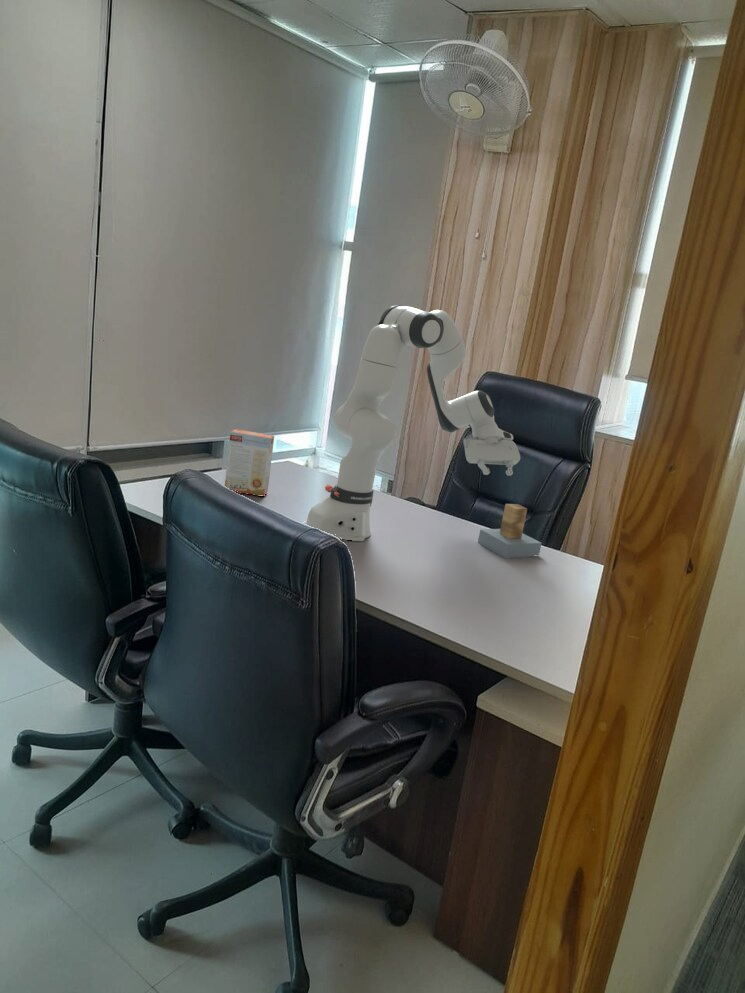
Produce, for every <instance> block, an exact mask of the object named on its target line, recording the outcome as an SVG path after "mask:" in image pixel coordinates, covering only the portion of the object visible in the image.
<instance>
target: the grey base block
mask: <svg viewBox="0 0 745 993" xmlns="http://www.w3.org/2000/svg"><path fill="white" fill-rule="evenodd" d="M477 543H478V544H479V545H481V546H483V547H484V548H487V549H488V550H490V551H491V552H493V553H494V554H495V553H496V554H497V555H498V556H501V557H502V558H504V559H511V557H512V559H514V558H513V557H518V558H525V557H524V556H534V555H539V556H540V552H541V547H542V542H541V541H538V540H537V539H535V538H533V537H531V536H530V535H527V534H526V533H524V532H522V537H521V539H508V538H506V537H505V536H503V535H501V534H500V528H482V529H481V528H480V530H479V534H478V539H477Z"/></svg>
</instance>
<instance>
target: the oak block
mask: <svg viewBox="0 0 745 993" xmlns="http://www.w3.org/2000/svg"><path fill="white" fill-rule="evenodd" d="M503 509H504V510H503V513H502V520H501V524H500V528H499V529H500V534H501V535H503V536H505V537H506V538H508V539H521V537H522V533H524V526H525V523H526V517H527V512H528V508H527V507H525V506H524V505H523V506H522V505H521V504H518V503H505V505H504V508H503Z"/></svg>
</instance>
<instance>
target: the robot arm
mask: <svg viewBox="0 0 745 993" xmlns="http://www.w3.org/2000/svg"><path fill="white" fill-rule="evenodd" d="M405 346H409V347H415V348H419V349H427V351H428V353H429V356H430V360H429V363H428V364H427V366H426V376H427V380H428V384H429V388H430V392H431V396H432V399H433V403H434V404H433V405H434V407H435V414H436V416H435V417H436V421H437V423H438V427H440V429H441V430H443V431H445V432H447V433H455V432H456V431H459V430H460V429H462V428H464V427H467V426H469V427H471V434H472V437H471V436H465V438H463V440H462V443H463V447H464V454H465V459H466V461H467V462H468V463H469V464H477V466H478V468H479V469H480V470H481V471H482V474H483V475H485V476H488V475H490V473H491V471H490V467H487V466H486V465H500V466H501V465H503V466H504V465H505V467H506V468H507V470H505V474H506V476H512V475H513V474H514V472H513V467H514V466H516V465H517V464H518V463H519V462H520V461H521V454H520V451H519V449H518V446H517V444H516V443H515V442H514V441H513V440H514V435H513V434H512V433H510V432H507V431H505V430H503V429H501V428H499V426H498V424H497V423H496V422H495V421H496V420H495V415H494V414H495V407H494V405H493V402H492V398H491V396H490V395H489V393H487V392H484V391H483V390H480V389H479V390H478V389H477V390H474V391H471V392H469V393H467V394H464V395H462V396H460V397H457V398H454V399H452V400H447V398H446V395H445V390H444V388H443V384H444V382H445V381H446V379H447V378H448V377H449V376H450V375H451V374H452V373H454V372H456V371H457V369H458V368H460V367H461V365H462V364H463V362H464V360H465V358H466V354H467V349H466V345H465V342H464V339H463V337H462V335H461V333H460V331H459V328H458V327H457V325H456V323H455V322H454V321H453V318H451V316H450V315H449V313H448V312H446V310H445V311H444V310H441V309H435V310H432V311H430V312H429V311H424V310H421V309H419V308H416V307H413V306H403V305H392V306H389V307H388V308H386V309H385V310H384V311H383V312H382V315H381V317H380V320H379V322H378V324H377V325H375V326H373V327H372V328H371V330H369V333H368V335H367V338H366V341H365V343H364V346H363V350H362V352H361V356H360V357H361V358H360V362H359V364H358V370H357V373H356V378H355V381H354V384H353V387H352V388H351V391H350V393H349V395H348V396H347V399H346V400H345V402H344V403H343V404H342V405H341V406H340V407H338V409H337V410H336V412H335V414H334V418H333V420H334V425H335V426H334V427H335V428H336V429H337V430H338V432H339V433H340V434H341V435H342V436H343V437H345V438H347V439H349V440H350V441H351V446H350V448H349V450H348V453H346V456H344V457H343V458H342V459H341V460H340V463H339V469H338V476H337V482H336V484H335V485H334V486H331V485H330V484H326V485H325V487H324V490H325V492H327V493H330V495H329V496H327V497H326V498H324V500H321V502H318V503H317V504H315V505H313V506H312V507H311V508H310V509H309V512H308V515H307V518H306V520H303V521H304V522H306V523H305V524H307V525H309V526H311V527H314V528H318V529H320V530H322V531H325V532H327V533H330V534H333V535H334V536H336V537H338V538H339V539H341V538H342V539H347V540H352V541H351V542H364V541H365V539H366V538H369V537H370V536H371V534H372V533H371V527H370V524H371V523H370V521H371V520H370V518H371V517H370V512H371V506H372V503H373V499H374V498H373V497H374V482H375V478H376V477H375V476H376V471H377V469H378V468H377V467H378V465H379V462H380V459H381V457H382V455H383V454H384V452H385V451H386V450H387V449H389V448H390V447H391V446H392V445H393V443H394V442H395V439H396V437H397V429H396V426H395V424H394V423H393V421H392V420H391V419H390V418H389V417H387V416H386V415H385V414H383V413H382V412H381V413H380V412H378V411H379V407H380V406H381V404H382V402H383V400H384V399H385V398H386V397H388V396H389V395H390V394H391V392H392V391H393V390H392V389H393V386H394V381H395V377H396V373H397V369H398V365H399V361H400V360H399V359H400V355H401V354H400V353H401V352H402V350H403V349H404V347H405ZM304 522H302V523H304ZM335 534H336V535H335ZM340 537H341V538H340ZM342 539H341V540H340V541H343V540H342ZM347 540H346V541H347Z"/></svg>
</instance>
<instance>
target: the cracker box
mask: <svg viewBox="0 0 745 993" xmlns="http://www.w3.org/2000/svg"><path fill="white" fill-rule="evenodd" d="M274 442H275V435H273V434H266V433H261V432H255V431H249V430H242V429H236V428H235V429H233V430H231V431H230V434H229V443H228V449H227V450H228V451H227V452H228V453H227V461H226V470H225V480H224V487H225V486H226V487H227V488H229V489H230V490H233V491H235V490H236V491H235V492H237V491H238V492H237V493H236V494H241V493H248V494H255V495H263V496H264V495H265V494H266V493H267V492H269V486H270V485H269V484H270V474H271V469H272V468H271V466H272V461H273V460H272V458H273V450H274ZM235 492H234V493H235ZM239 492H241V493H239ZM267 494H268V493H267ZM267 494H266V495H267ZM266 495H265V496H266Z"/></svg>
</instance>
